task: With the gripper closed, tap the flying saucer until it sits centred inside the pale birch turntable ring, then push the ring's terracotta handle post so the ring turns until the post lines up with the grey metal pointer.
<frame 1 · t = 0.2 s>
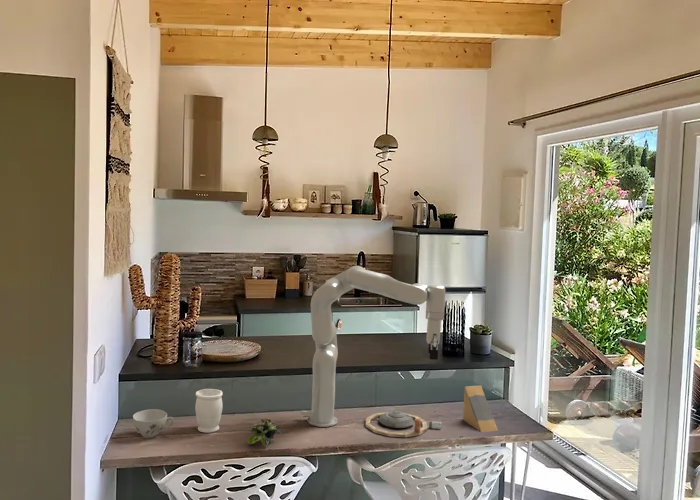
hand: (432, 356, 249), 31 cm above the countertop, tool pointing down, fingers open, 9 cm apart
teacup: (153, 435, 233), on the countertop
flying saucer: (396, 424, 256), on the countertop
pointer: (436, 428, 252), on the countertop
sandwich container: (480, 425, 258), on the countertop
jar: (208, 429, 241), on the countertop
green leafy cluster: (264, 445, 228), on the countertop
turntable ring: (396, 418, 253), point 3 cm above the countertop, hinge at 0.0°
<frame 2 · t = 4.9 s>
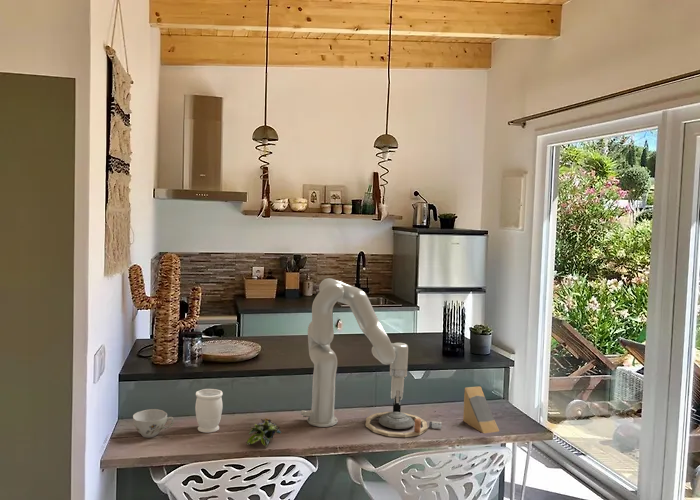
hand: (396, 412, 262), 2 cm above the countertop, tool pointing down, fingers closed
flying saucer: (396, 425, 254), on the countertop, touching gripper
sandwich container: (480, 426, 257), on the countertop
everything else where it was.
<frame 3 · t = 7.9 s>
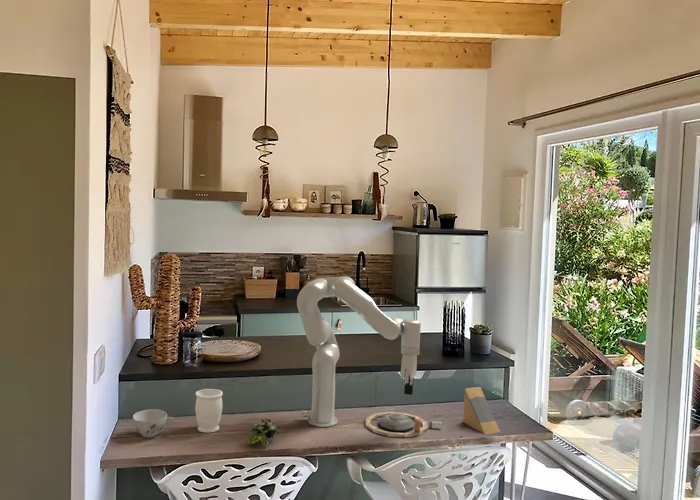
hand: (408, 393, 247), 15 cm above the countertop, tool pointing down, fingers closed
flying saucer: (396, 426, 253), on the countertop
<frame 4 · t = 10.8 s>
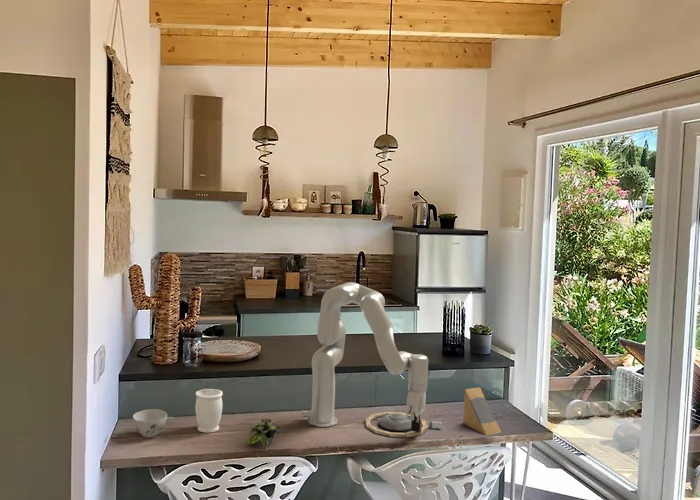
hand: (415, 430, 241), 3 cm above the countertop, tool pointing down, fingers closed
turntable ring: (396, 418, 253), point 3 cm above the countertop, hinge at 3.7°, touching gripper
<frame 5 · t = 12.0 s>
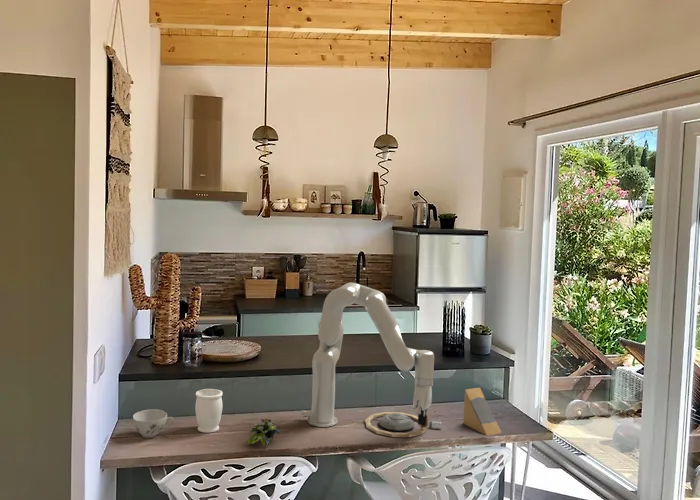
hand: (422, 424, 247), 3 cm above the countertop, tool pointing down, fingers closed
turntable ring: (396, 418, 253), point 3 cm above the countertop, hinge at 37.2°, touching gripper
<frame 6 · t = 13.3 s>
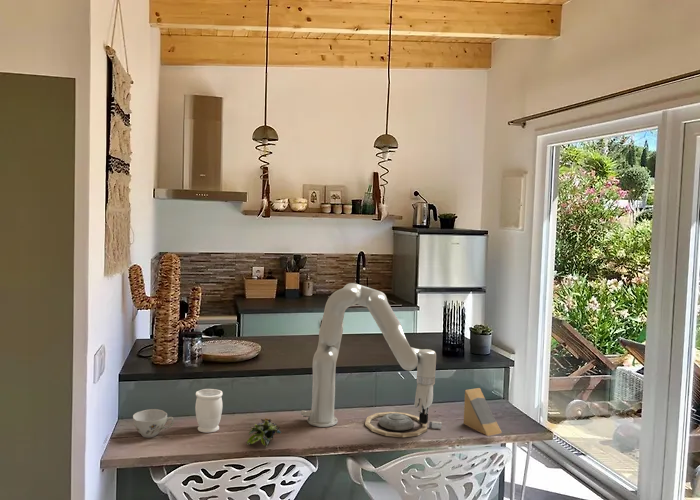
hand: (423, 422, 251), 3 cm above the countertop, tool pointing down, fingers closed
turntable ring: (396, 418, 253), point 3 cm above the countertop, hinge at 55.7°, touching gripper
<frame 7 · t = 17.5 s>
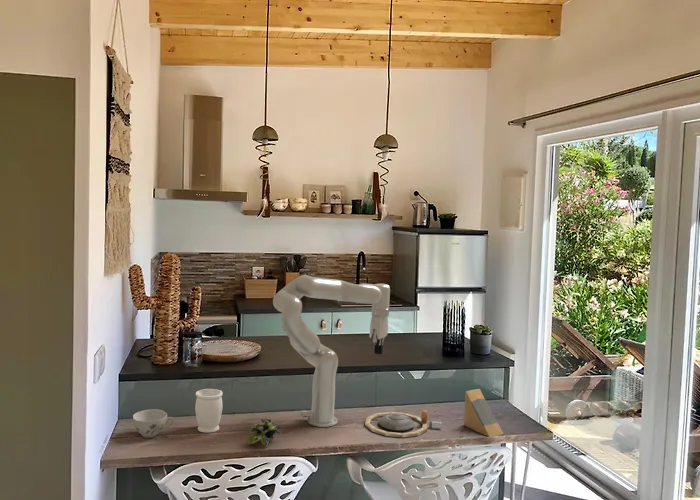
hand: (378, 353, 264), 27 cm above the countertop, tool pointing down, fingers closed
sandwich container: (483, 430, 253), on the countertop
turntable ring: (396, 418, 253), point 3 cm above the countertop, hinge at 55.7°
everything else where it was.
at the end: flying saucer 0.3 cm from the turntable ring (horizontally); turntable ring at +56° (first picture: +0°); flying saucer tilted 0° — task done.
